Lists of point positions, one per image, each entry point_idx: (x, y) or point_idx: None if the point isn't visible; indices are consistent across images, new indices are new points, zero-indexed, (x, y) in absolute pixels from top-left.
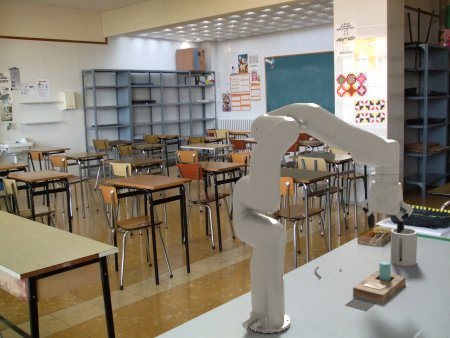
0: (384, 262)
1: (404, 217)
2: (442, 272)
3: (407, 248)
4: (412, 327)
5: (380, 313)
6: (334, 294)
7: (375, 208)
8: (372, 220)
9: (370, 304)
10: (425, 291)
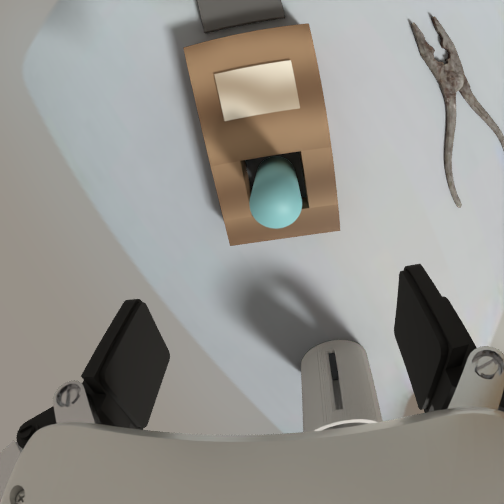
0: (288, 218)
1: (48, 418)
2: (221, 360)
3: (315, 389)
4: (66, 22)
5: (161, 2)
6: (360, 7)
7: (397, 496)
8: (418, 347)
9: (211, 10)
10: (167, 232)
